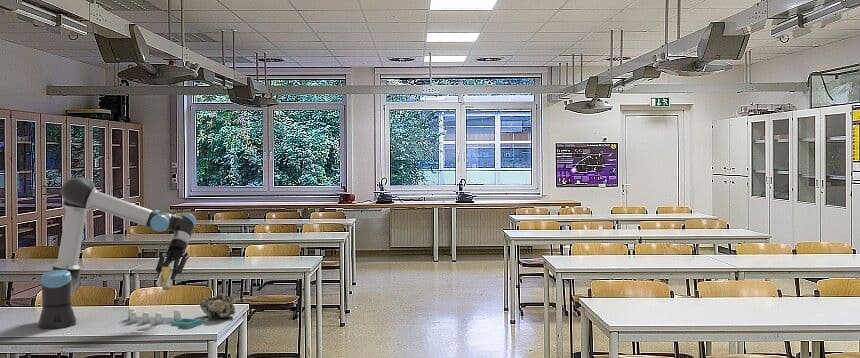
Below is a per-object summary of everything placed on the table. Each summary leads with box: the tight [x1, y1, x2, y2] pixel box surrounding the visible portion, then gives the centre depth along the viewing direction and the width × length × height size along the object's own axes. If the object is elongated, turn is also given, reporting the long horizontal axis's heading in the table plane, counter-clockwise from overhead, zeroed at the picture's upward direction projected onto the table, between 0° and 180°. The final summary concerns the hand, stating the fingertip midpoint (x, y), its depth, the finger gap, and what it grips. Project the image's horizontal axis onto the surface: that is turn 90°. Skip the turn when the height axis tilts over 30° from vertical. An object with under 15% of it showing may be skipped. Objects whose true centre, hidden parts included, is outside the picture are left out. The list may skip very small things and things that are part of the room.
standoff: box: [161, 265, 173, 291], centre depth 369 cm, size 4×4×10 cm
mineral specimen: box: [198, 293, 236, 320], centre depth 379 cm, size 16×18×10 cm
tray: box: [171, 317, 203, 329], centre depth 362 cm, size 9×9×2 cm
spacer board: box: [118, 308, 184, 326], centre depth 369 cm, size 25×14×5 cm, turn 79°
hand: (163, 285), depth 365 cm, fingers closed on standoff, 4 cm apart
